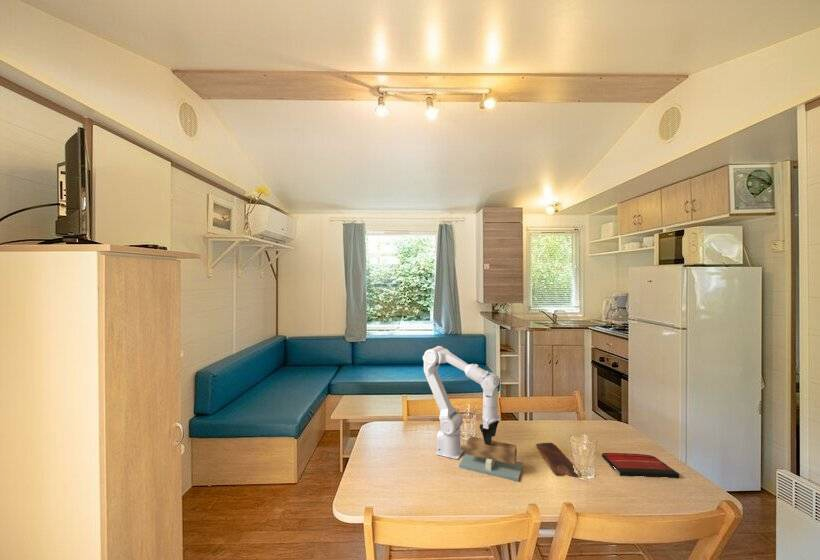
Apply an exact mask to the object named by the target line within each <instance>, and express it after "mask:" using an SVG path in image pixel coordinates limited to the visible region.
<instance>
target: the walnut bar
mask: <svg viewBox="0 0 820 560" xmlns="http://www.w3.org/2000/svg"><path fill="white" fill-rule="evenodd" d="M517 448H518V447H517V445H516V444H512V443H507V442H502V441H497V440H491V444H490V445H487V444H485V443H484V438H483V437H476V436H472V435H471V436H469V438H468V439H467V441H466V453H467V454H469V455H473V456H478V457H482V458H487V459H491V460H496V461H500V462H505V463H509V464H514V465H515V462H517V459H518V458H517V456H518V454H517V452H518V451H517V450H518V449H517Z"/></svg>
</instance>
